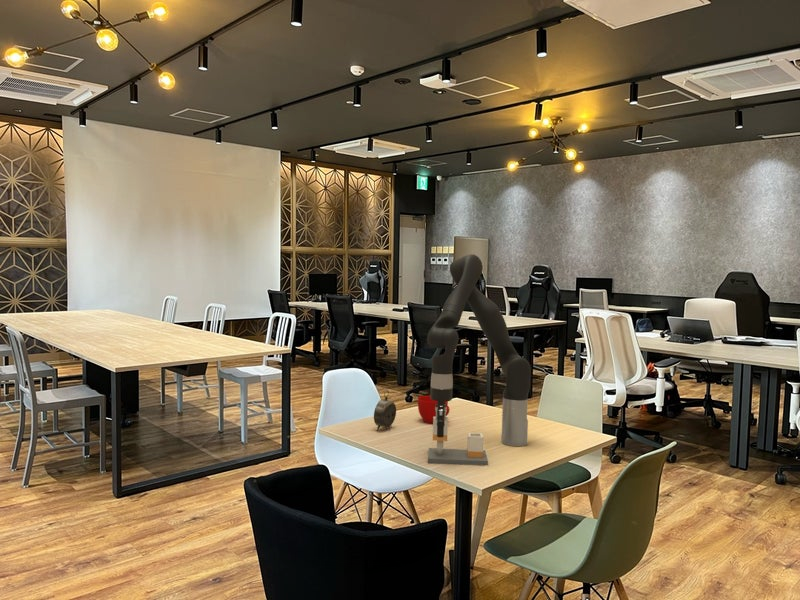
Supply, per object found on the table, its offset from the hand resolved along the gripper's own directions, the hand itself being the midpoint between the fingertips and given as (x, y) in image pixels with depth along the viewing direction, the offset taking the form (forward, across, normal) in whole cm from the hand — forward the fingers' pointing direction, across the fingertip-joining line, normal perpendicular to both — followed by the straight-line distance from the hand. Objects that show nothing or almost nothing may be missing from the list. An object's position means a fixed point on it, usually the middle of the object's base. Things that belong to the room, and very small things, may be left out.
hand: (440, 434), depth 203 cm
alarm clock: (+8, -34, -22) cm, 41 cm away
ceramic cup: (+8, -48, -2) cm, 49 cm away
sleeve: (+1, 0, 0) cm, 1 cm away
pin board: (+8, 0, +6) cm, 10 cm away
